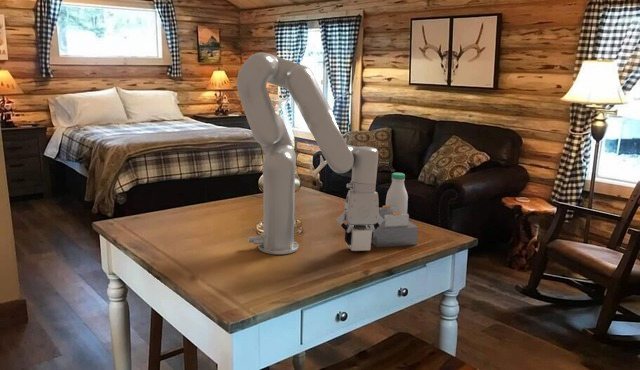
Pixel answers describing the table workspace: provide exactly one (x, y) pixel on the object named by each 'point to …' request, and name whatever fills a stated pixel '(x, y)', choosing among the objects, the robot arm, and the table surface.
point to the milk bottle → (397, 193)
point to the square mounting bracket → (394, 229)
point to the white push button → (360, 238)
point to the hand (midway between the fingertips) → (358, 242)
